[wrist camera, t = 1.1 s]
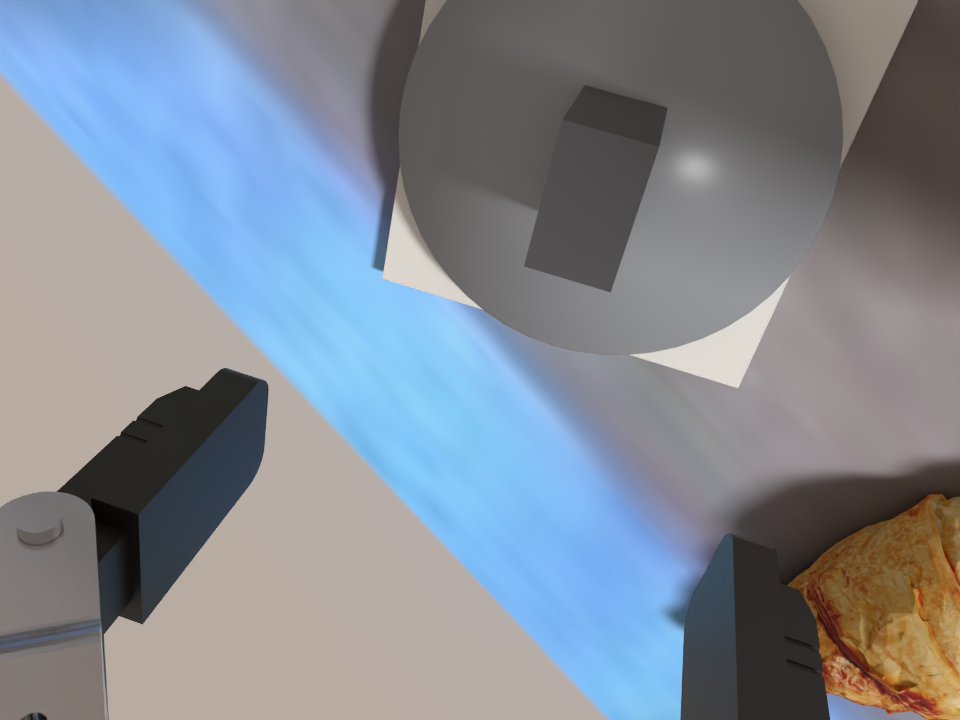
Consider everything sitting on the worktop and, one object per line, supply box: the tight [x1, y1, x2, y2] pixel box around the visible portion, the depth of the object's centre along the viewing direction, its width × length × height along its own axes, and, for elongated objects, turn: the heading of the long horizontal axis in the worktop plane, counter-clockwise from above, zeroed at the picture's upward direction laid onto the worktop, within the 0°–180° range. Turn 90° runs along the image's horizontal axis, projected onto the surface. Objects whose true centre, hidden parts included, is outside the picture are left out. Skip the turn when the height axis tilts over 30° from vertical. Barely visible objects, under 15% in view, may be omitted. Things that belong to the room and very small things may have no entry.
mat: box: [382, 0, 918, 388], centre depth 31 cm, size 16×16×1 cm
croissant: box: [787, 494, 960, 720], centre depth 35 cm, size 21×10×8 cm
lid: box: [398, 0, 843, 355], centre depth 28 cm, size 16×16×6 cm
